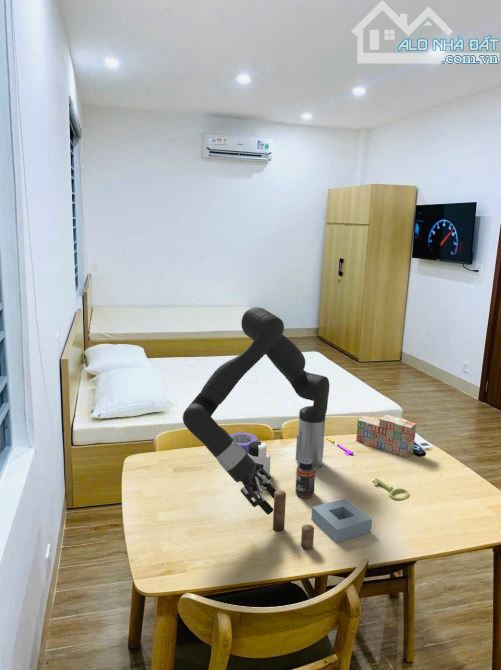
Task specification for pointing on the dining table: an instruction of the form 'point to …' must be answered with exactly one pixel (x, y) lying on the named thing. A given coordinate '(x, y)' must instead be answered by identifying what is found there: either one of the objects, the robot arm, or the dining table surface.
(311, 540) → the walnut pin short
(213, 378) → the robot arm
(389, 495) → the key
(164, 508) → the dining table surface
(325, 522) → the collar block
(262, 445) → the medicine bottle
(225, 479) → the dining table surface
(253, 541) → the dining table surface
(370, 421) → the stack of blocks
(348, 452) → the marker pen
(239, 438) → the tape roll
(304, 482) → the supplement bottle
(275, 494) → the walnut pin tall
